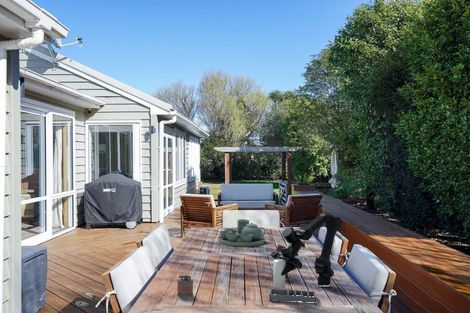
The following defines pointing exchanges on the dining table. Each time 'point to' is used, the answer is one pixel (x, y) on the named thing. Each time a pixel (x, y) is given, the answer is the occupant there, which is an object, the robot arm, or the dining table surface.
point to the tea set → (242, 235)
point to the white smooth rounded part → (278, 273)
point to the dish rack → (287, 295)
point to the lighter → (185, 285)
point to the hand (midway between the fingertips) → (277, 273)
